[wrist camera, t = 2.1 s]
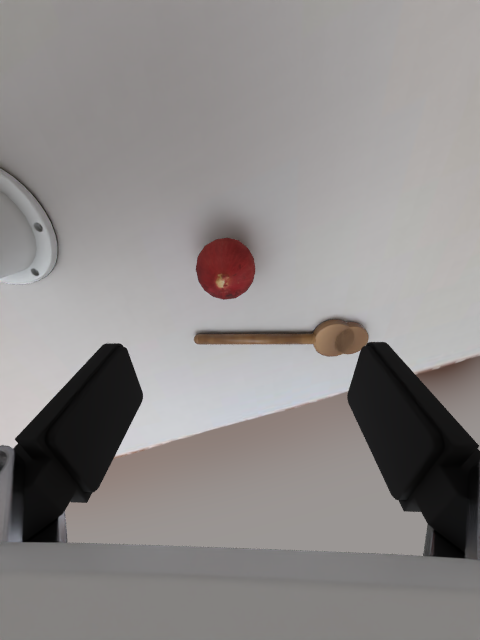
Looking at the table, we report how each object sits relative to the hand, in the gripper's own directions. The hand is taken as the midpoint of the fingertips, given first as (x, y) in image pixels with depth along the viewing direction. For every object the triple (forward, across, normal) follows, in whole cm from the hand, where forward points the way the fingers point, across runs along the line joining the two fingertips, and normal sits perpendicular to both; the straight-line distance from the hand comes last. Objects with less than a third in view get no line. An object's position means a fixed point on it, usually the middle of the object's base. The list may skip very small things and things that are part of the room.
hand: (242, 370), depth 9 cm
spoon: (+18, -5, +11) cm, 22 cm away
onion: (+19, +2, 0) cm, 19 cm away
